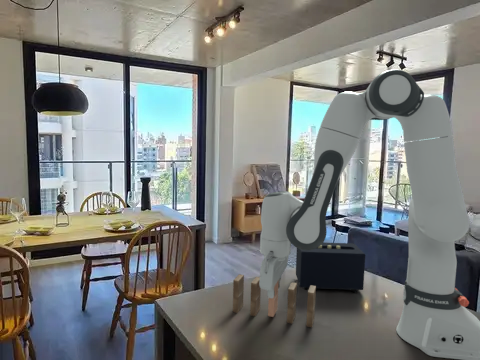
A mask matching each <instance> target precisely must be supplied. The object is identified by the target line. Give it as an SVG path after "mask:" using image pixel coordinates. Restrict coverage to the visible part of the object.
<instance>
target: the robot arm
mask: <svg viewBox="0 0 480 360" xmlns="http://www.w3.org/2000/svg"><path fill="white" fill-rule="evenodd" d="M391 119H396V120H397V121H398V122H399V124H400V125H401V128H402V131H403V132H402V133H403V146H404V155H405V162H406V172H407V177H408V181H409V185H410V191H411V196H412V198H411V199H410V202H409V204H408V217H407V218H408V219H407V220H408V222H407V224H408V227H407V228H408V230H407V231H408V233H407V235H408V236H407V237H408V240H407V241H408V258H407V261H408V262H407V271H406V272H407V273H406V280H405V281H404V286H403V296H402V300H403V305H402V306H403V307H402V312H401V315H400V319H399V321H398V324H397V326H396V328H395V329H396V333H397V334H398V336H399V337H400V338H401V339H403V340H404V341H405V342H407V343H408V344H410V345H412V346H413V347H416V348H418V349H420V350H421V351H422V352H423V353H425V354H426V355H428V356H430V357H435V358H445V359H452V360H453V359H454V360H480V320H479V318H478V317H477V316H475V314H473V313H472V312H471V311H469V310H468V309H467V308H466V307H468V306H469V304H470V301H469V300H468V299H467V297H466V296H464V295H463V293H462V292H460V291H459V290H458V288H456V287H455V286H456V277H457V276H456V275H457V267H458V266H457V263H458V261H457V260H458V259H457V254H456V245H455V242H457V241H459V240H460V239H463V237H464V236H466V234H467V233H468V231H469V228H470V223H471V222H470V221H471V220H470V217H469V213H468V211H467V207H466V201H465V196H464V192H463V188H462V187H463V186H462V185H461V180H460V177H459V173H458V168H457V162H456V161H457V159H456V152H455V151H456V149H455V143H454V142H455V141H454V134H453V132H454V131H453V126H452V122H451V117H450V113H449V111H448V106H447V104H446V102H445V100H444V99H443V98H442V97H441V96H438V95H434V94H425V92H424V90H423V89H422V88H421V87H420V86H419V84H418V83H417V82H416V80H415V78H413V77H412V75H411V74H409V73H408V71H407V72H406V71H405V70H402V69H388V70H385V71H383V72H381V73H380V74H378V75H377V76H376V77H375V78H374V79H373V80H372V81H371V82H370V84H369V85H368V87H367V88H366V89H365V91H363V92H361V93H360V92H359V93H358V92H354V91H344V92H340V93H338V94H337V95H335V96H334V98H333V99H332V100H331V102H330V104H329V106H328V107H327V110H326V112H325V114H324V117H323V119H322V121H321V123H320V127H319V128H318V133H317V136H316V139H315V140H316V141H315V143H314V145H315V146H314V150H313V151H314V153H313V154H314V155H313V156H314V159H313V171H312V177H311V179H310V182H309V186H308V187H307V191H306V193H305V197H304V199H303V200H302V199H299V198H297V197H296V196H294V195H293V194H292V193H291V192H290V191H284V190H281V191H280V190H279V191H273V192H270V193H268V194H267V195H266V196H264V198H263V201H262V202H261V203H262V204H261V211H260V212H261V213H260V223H261V232H260V238H259V239H260V240H259V243H260V244H259V245H260V246H259V252H260V254H261V255H263V257H264V258H263V259H262V261H261V263H260V268H259V269H260V272H259V277H260V280H259V286H260V288H261V290H264V291H267V298H268V299H269V298H273V297H274V296H275V291H274V287H275V285H276V283H277V281H278V290H279V289H280V287H281V280H282V275H283V274H284V272H285V270H286V268H287V267H288V263H289V256H290V255H291V250H292V249H291V247H292V246H293V247H294V248H296V249H297V248H299V249H301V250H313V249H316V248H318V247H319V246H320V245H321V244H322V243H323V242H324V243H325V240H326V238H327V223H326V219H327V218H326V217H327V212H328V209H329V206H330V203H331V200H332V198H333V195H334V192H335V189H336V186H337V184H338V182H339V179H340V177H341V176H342V174H343V172H344V171H345V169H346V168H347V166H348V164H349V162H350V161H351V159H352V158H353V156H354V154H355V152H356V150H357V148H358V146H359V143H360V141H361V138H362V135H363V133H364V129H365V127H366V126H367V124H368V123H369V122H370V121H386V120H391Z"/></svg>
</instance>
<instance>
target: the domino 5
mask: <svg viewBox="0 0 480 360" xmlns="http://www.w3.org/2000/svg"><path fill="white" fill-rule="evenodd" d="M316 290H317V288H316V286H312V285H310V288H309V290H307V304H306V327H308V328H313V326H314V322H315V316H316V315H315V314H316V311H315V310H316V295H317V294H316V293H317V291H316Z"/></svg>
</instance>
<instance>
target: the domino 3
mask: <svg viewBox="0 0 480 360" xmlns="http://www.w3.org/2000/svg"><path fill="white" fill-rule="evenodd" d="M274 291H275V296H274V297H273V298H268V301H267V302H268V304H267V305H268V307H267V317H270V318H271V317H272V318H274V317H275V315H276V314H277V311H278V306H279V305H278V303H279V302H278V301H279V289H278V281H277V283H276V285H275V287H274Z"/></svg>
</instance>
